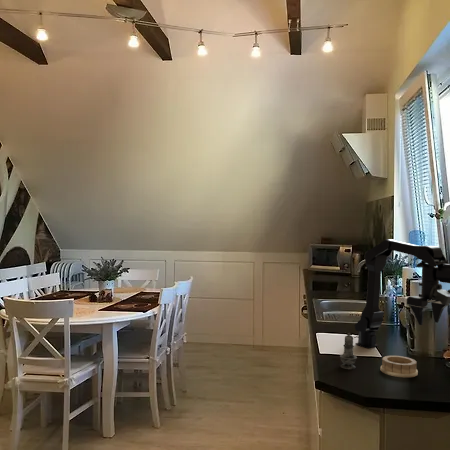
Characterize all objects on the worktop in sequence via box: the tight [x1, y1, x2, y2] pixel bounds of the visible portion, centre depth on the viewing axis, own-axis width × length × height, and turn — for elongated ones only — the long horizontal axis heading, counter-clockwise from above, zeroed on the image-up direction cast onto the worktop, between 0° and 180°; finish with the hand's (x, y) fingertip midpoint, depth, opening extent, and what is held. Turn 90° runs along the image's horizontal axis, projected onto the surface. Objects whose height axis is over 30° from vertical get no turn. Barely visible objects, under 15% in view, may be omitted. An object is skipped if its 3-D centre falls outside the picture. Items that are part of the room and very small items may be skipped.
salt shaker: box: [339, 332, 358, 370], centre depth 176 cm, size 6×6×12 cm
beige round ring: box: [380, 355, 419, 379], centre depth 172 cm, size 12×12×4 cm
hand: (428, 323), depth 181 cm, fingers open, 9 cm apart
